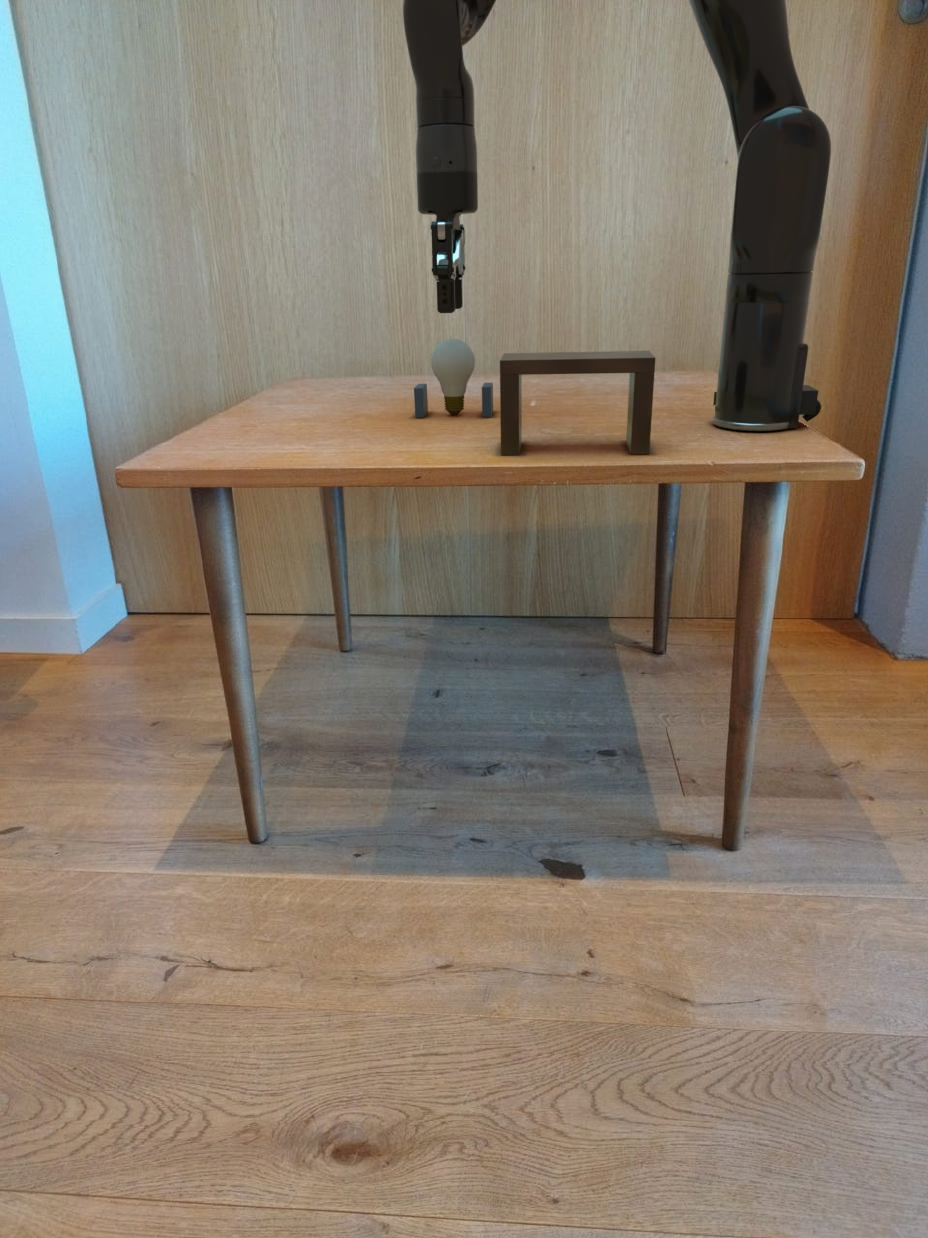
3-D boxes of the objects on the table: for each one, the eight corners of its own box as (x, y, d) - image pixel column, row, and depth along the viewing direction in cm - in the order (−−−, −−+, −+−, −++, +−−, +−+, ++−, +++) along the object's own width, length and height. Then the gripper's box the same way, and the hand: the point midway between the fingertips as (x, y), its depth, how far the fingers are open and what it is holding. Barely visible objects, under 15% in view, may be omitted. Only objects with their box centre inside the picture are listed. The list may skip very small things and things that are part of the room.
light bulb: (451, 420, 109) (448, 341, 105) (424, 415, 113) (421, 339, 109) (484, 414, 112) (483, 338, 108) (458, 409, 117) (456, 335, 113)
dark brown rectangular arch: (643, 441, 94) (649, 350, 90) (649, 454, 88) (655, 357, 84) (504, 442, 95) (503, 353, 91) (500, 455, 90) (499, 360, 86)
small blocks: (493, 411, 114) (492, 382, 112) (491, 417, 110) (490, 386, 109) (419, 412, 115) (418, 383, 114) (415, 417, 112) (413, 387, 110)
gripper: (471, 163, 94) (473, 314, 101) (482, 174, 107) (483, 306, 113) (407, 166, 95) (413, 315, 101) (425, 176, 108) (430, 307, 114)
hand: (450, 310), depth 107 cm, fingers open, 8 cm apart
